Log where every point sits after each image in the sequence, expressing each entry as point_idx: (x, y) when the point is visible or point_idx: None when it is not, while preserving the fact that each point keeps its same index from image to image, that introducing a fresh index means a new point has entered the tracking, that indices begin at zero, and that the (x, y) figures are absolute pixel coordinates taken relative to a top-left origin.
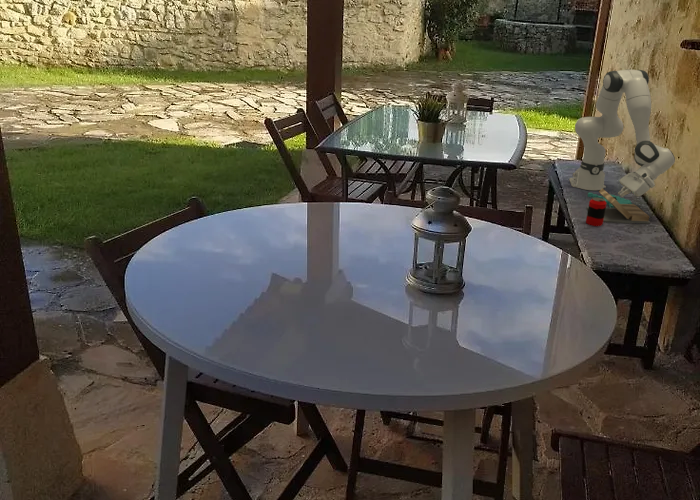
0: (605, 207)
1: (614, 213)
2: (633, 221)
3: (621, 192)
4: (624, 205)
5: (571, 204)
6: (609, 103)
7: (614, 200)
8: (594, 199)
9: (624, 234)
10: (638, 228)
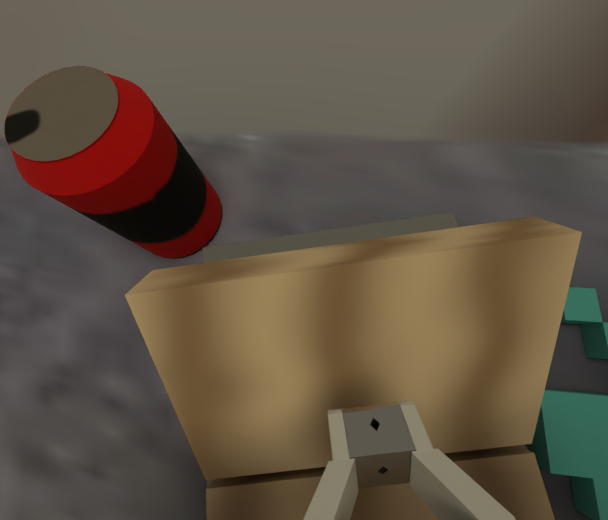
0: (63, 203)
1: None
2: (206, 481)
3: (360, 439)
4: (499, 500)
5: (505, 149)
6: None
7: (133, 287)
8: (63, 80)
9: (17, 349)
10: (114, 483)
